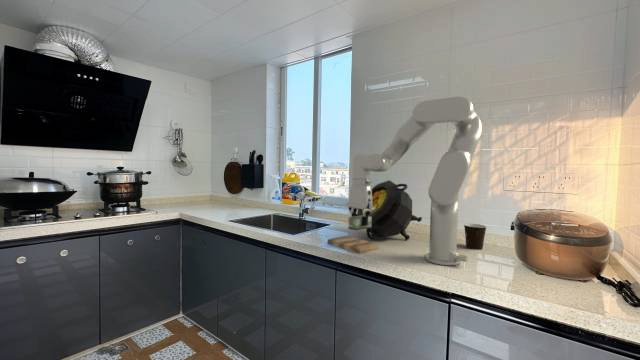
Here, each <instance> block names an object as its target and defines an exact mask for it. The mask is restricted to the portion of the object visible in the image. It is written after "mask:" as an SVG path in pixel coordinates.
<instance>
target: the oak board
mask: <svg viewBox="0 0 640 360" xmlns="http://www.w3.org/2000/svg"><path fill="white" fill-rule="evenodd" d="M327 245H330V246H334V247H336V248H340V249H344V250H347V251H351V252H354V253H357V254H360V255H362V254H365V253H368V252H372V251H375V250H378V248H379V247H380V246H379V245H380V244H379V243H377V242H372V241H368V240H365V239H360V238H356V237H354V236H353V237H352V236H349V235H340V236H338V237H332V238H327Z"/></svg>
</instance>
